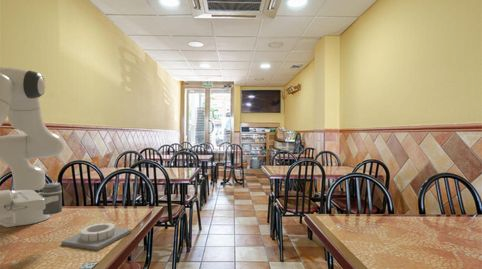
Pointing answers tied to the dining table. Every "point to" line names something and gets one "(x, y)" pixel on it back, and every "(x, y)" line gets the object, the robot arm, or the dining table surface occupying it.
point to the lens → (53, 190)
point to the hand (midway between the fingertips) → (55, 196)
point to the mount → (96, 236)
